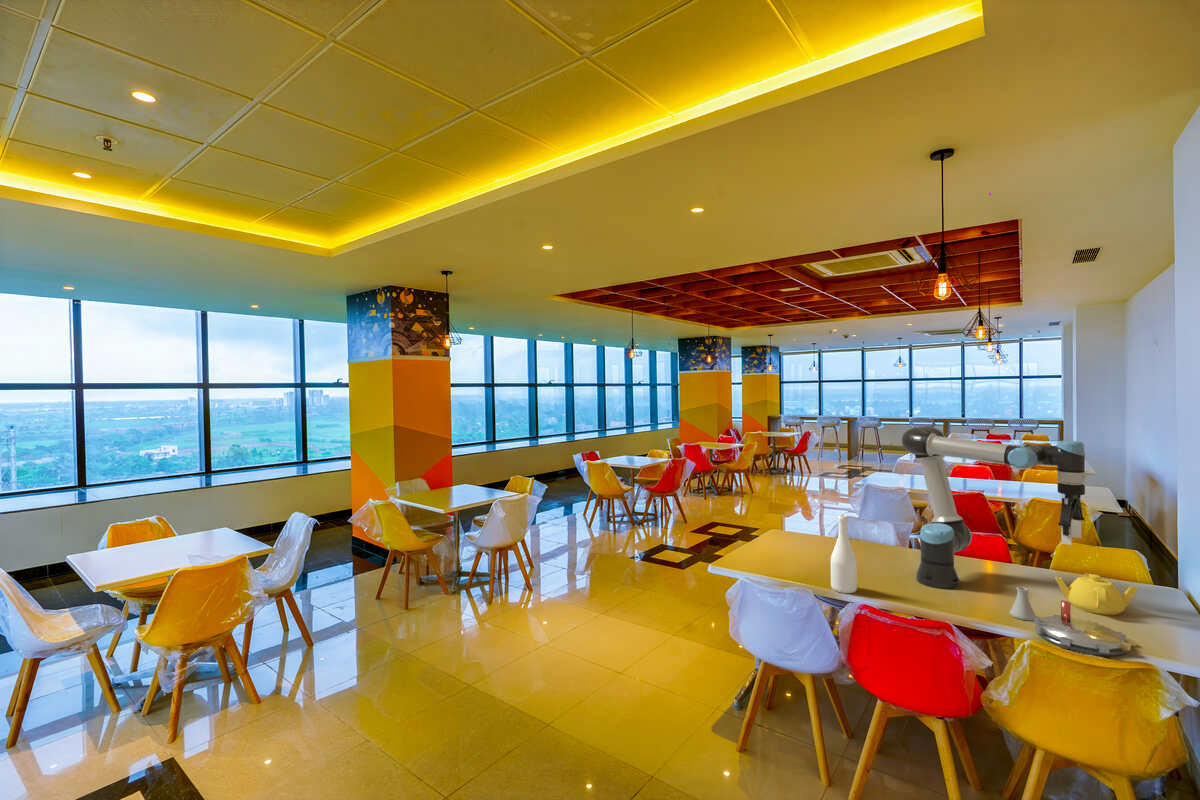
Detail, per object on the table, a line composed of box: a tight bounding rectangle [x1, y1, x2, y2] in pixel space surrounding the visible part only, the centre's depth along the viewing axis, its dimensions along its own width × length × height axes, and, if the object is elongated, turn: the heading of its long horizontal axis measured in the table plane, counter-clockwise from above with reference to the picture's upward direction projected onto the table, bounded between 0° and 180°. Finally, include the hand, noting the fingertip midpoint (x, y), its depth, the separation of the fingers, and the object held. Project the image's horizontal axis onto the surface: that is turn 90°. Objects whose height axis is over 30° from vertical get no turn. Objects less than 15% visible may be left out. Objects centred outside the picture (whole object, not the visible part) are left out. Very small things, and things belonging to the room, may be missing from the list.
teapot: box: [1054, 572, 1138, 616], centre depth 190 cm, size 17×17×12 cm
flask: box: [1008, 586, 1037, 622], centre depth 183 cm, size 7×7×10 cm
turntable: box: [1033, 600, 1132, 653], centre depth 166 cm, size 23×23×8 cm
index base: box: [1036, 632, 1138, 658], centre depth 165 cm, size 24×21×1 cm
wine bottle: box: [830, 514, 858, 594], centre depth 211 cm, size 10×10×30 cm
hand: (1071, 540), depth 192 cm, fingers open, 13 cm apart
